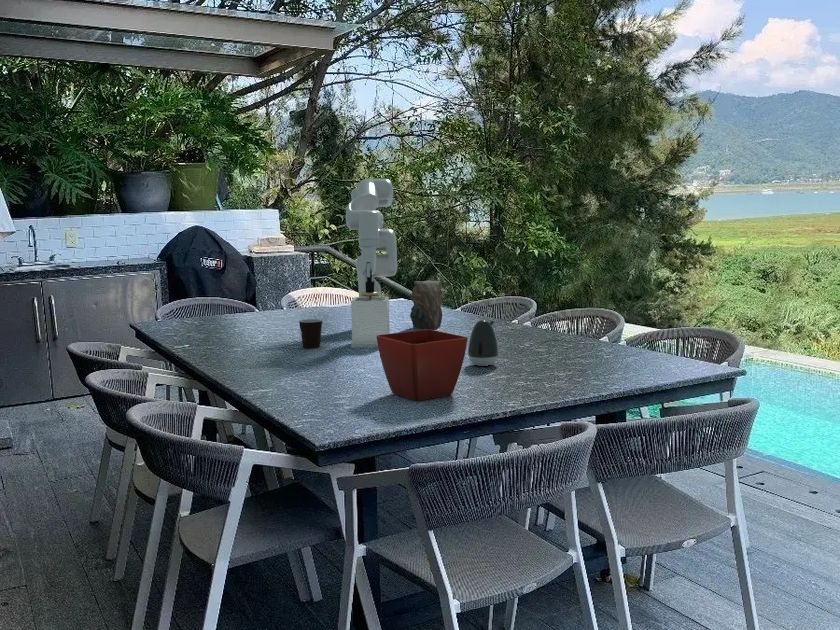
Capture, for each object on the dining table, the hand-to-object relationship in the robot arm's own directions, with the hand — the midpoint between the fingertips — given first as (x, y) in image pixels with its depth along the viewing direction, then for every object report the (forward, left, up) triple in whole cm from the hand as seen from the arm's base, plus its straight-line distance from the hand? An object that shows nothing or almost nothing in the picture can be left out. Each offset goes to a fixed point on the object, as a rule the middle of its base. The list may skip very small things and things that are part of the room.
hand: (370, 292), depth 326 cm
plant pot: (+85, +22, -20) cm, 90 cm away
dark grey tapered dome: (+43, +41, -20) cm, 63 cm away
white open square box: (0, 0, -20) cm, 20 cm away
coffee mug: (+3, -22, -20) cm, 30 cm away
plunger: (0, 0, -17) cm, 17 cm away
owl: (-42, +21, -20) cm, 51 cm away
